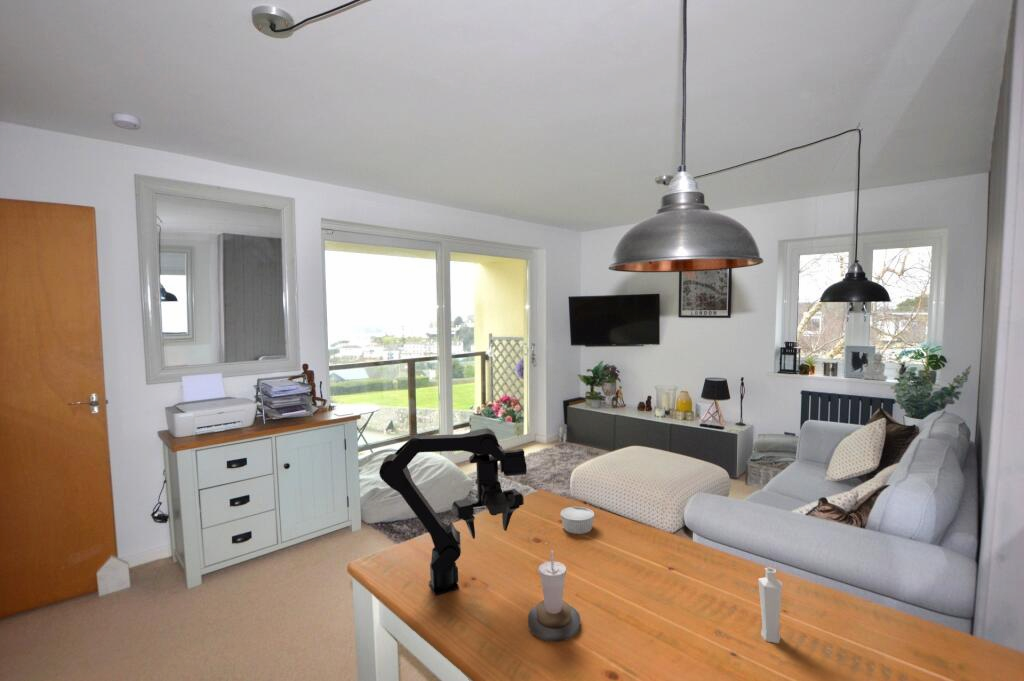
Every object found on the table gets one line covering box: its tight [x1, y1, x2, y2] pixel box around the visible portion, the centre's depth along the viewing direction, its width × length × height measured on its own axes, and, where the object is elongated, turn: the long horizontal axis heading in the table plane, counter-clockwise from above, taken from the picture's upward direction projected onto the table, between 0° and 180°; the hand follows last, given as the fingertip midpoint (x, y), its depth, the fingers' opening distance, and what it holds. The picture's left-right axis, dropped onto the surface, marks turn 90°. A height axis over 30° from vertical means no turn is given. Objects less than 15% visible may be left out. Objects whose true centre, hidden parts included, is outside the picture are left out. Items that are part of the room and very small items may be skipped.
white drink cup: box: [538, 549, 567, 614], centre depth 108 cm, size 6×6×14 cm
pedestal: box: [527, 599, 581, 643], centre depth 108 cm, size 12×12×4 cm
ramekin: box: [560, 506, 595, 535], centre depth 156 cm, size 11×11×5 cm
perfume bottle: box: [758, 567, 783, 644], centre depth 101 cm, size 5×4×15 cm
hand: (489, 534), depth 126 cm, fingers open, 9 cm apart
